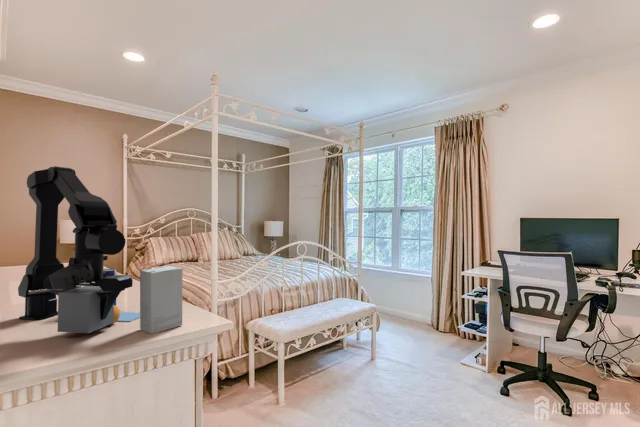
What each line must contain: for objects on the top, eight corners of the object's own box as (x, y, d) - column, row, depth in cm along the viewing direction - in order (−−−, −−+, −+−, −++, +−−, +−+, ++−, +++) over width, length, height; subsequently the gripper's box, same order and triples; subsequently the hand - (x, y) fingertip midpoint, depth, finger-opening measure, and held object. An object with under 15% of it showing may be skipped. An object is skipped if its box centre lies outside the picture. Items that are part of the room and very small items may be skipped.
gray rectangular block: (57, 331, 75) (58, 292, 75) (84, 321, 82) (85, 285, 82) (88, 333, 74) (89, 293, 74) (113, 322, 81) (114, 286, 82)
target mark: (102, 320, 88) (102, 320, 88) (122, 312, 96) (122, 312, 96) (130, 321, 87) (130, 321, 87) (148, 313, 95) (148, 312, 95)
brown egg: (97, 302, 84) (109, 306, 88) (89, 322, 82) (102, 326, 86) (115, 303, 83) (127, 307, 88) (107, 323, 81) (120, 327, 85)
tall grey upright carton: (170, 322, 87) (171, 265, 88) (183, 326, 84) (184, 267, 84) (137, 330, 80) (139, 268, 81) (150, 335, 77) (151, 271, 77)
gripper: (20, 255, 72) (17, 327, 71) (99, 256, 70) (97, 331, 69) (64, 250, 83) (63, 313, 82) (134, 252, 81) (133, 316, 80)
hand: (87, 318), depth 78 cm, fingers closed on gray rectangular block, 8 cm apart
